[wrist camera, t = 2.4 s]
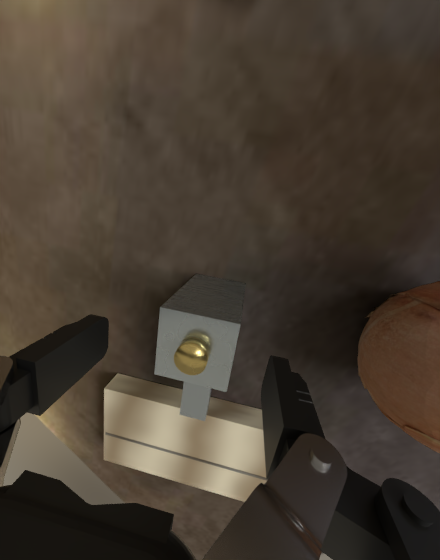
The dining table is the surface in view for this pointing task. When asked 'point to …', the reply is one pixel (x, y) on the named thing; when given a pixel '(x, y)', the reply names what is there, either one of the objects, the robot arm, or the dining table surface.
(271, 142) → the dining table surface
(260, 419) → the board
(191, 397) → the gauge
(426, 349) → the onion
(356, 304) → the dining table surface
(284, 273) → the dining table surface
